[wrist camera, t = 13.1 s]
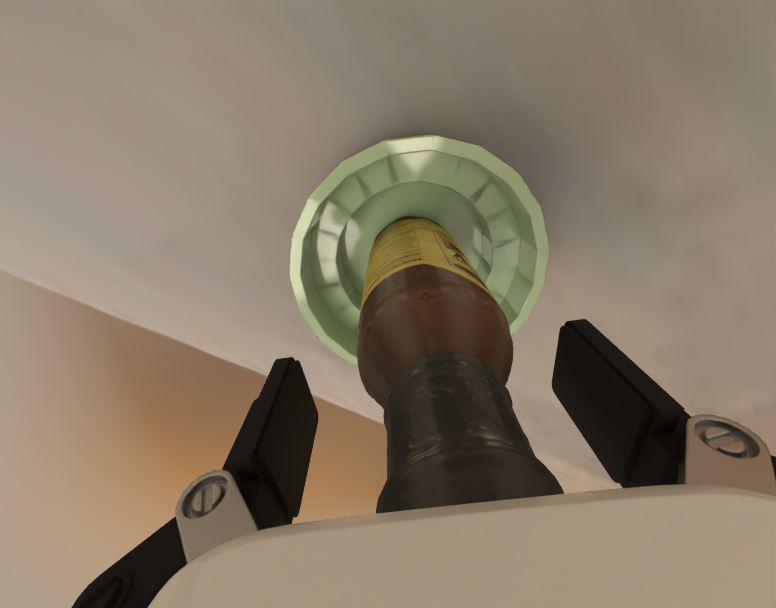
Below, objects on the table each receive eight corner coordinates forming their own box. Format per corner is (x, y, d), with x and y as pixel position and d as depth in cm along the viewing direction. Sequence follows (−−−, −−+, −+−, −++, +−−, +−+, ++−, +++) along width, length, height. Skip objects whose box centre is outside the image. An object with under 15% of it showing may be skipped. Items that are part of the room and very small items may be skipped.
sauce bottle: (457, 281, 25) (632, 637, 7) (380, 297, 25) (370, 660, 8) (446, 199, 22) (701, 466, 4) (359, 219, 22) (267, 524, 5)
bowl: (303, 315, 27) (283, 359, 22) (322, 110, 20) (299, 101, 15) (472, 344, 29) (492, 392, 23) (546, 165, 21) (599, 174, 16)
